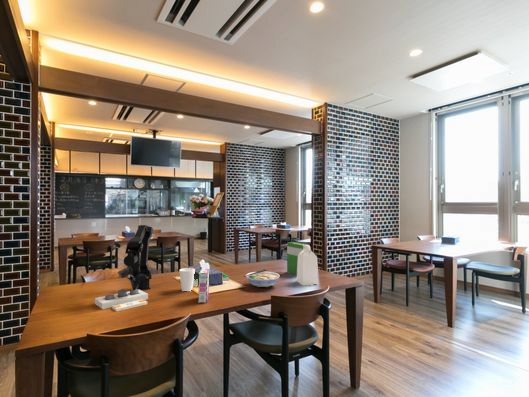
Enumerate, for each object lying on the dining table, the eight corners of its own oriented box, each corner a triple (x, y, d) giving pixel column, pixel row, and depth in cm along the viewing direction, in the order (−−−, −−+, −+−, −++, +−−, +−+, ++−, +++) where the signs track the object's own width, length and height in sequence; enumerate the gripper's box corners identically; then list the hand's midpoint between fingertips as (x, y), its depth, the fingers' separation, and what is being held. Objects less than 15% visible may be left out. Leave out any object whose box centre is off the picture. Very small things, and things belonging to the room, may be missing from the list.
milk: (318, 284, 207) (318, 246, 207) (302, 285, 204) (303, 246, 204) (311, 280, 219) (311, 244, 219) (296, 281, 216) (296, 244, 216)
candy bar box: (207, 303, 167) (207, 273, 167) (198, 303, 166) (198, 273, 167) (209, 296, 178) (209, 268, 178) (200, 297, 177) (200, 268, 178)
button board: (139, 294, 181) (139, 289, 181) (148, 299, 173) (148, 293, 173) (94, 303, 164) (94, 298, 164) (102, 309, 156) (102, 303, 156)
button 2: (136, 294, 176) (136, 288, 176) (139, 296, 173) (139, 290, 173) (128, 296, 173) (128, 290, 173) (131, 298, 170) (131, 291, 170)
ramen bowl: (264, 294, 184) (265, 280, 184) (236, 287, 198) (237, 274, 198) (287, 285, 204) (287, 273, 204) (260, 279, 218) (260, 268, 218)
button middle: (124, 295, 171) (124, 288, 171) (127, 296, 168) (127, 290, 168) (116, 296, 168) (116, 290, 168) (119, 298, 165) (119, 292, 165)
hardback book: (309, 275, 232) (309, 244, 233) (301, 277, 228) (302, 245, 228) (294, 271, 247) (294, 241, 247) (287, 272, 243) (287, 242, 243)
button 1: (112, 300, 167) (112, 294, 167) (115, 302, 164) (115, 296, 164) (103, 302, 164) (103, 295, 164) (106, 304, 161) (106, 297, 161)
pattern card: (142, 301, 168) (142, 298, 168) (147, 304, 164) (147, 301, 164) (111, 308, 157) (112, 305, 157) (116, 311, 153) (116, 308, 153)
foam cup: (197, 289, 193) (197, 268, 193) (189, 293, 184) (189, 271, 185) (184, 287, 196) (184, 267, 196) (176, 291, 188) (176, 270, 188)
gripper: (113, 262, 174) (113, 289, 174) (126, 267, 161) (125, 296, 161) (133, 259, 182) (132, 285, 182) (147, 264, 169) (146, 292, 169)
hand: (134, 290), depth 173 cm, fingers closed, pressing on button 2
